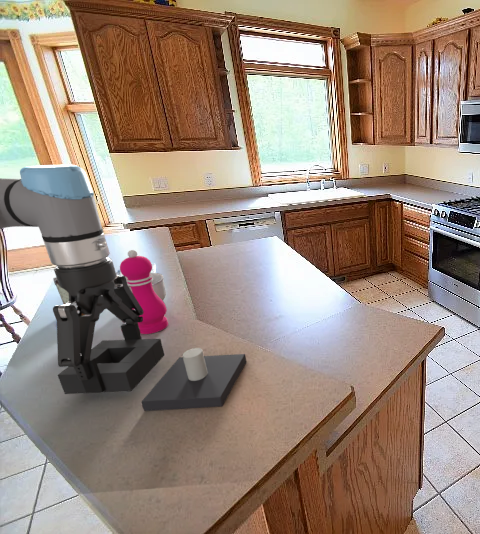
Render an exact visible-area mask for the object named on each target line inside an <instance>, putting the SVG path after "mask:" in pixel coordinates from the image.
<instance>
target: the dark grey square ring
mask: <svg viewBox="0 0 480 534" xmlns="http://www.w3.org/2000/svg"><path fill="white" fill-rule="evenodd" d="M164 357H165V351H164V346H163V343H162V339H161V338H141V339H131V340H125V339H104V340H101V341H100V342H99V343H97V344H96V345H95V346H92V348H91V355H90V358H95V360H96V363H97V366H98V369H99V371H100V375H101V378H102V381H103V383H104V386H105V389H106V390H105V391H104V392H99V393H98V394H100V393H101V394H102V393H120V392H121V393H123V392H132V391H133V390H134V389H135V388H136V387H137V386H138V384H140V383H141V381H143V379H144V378H145V377H146V376H147V375H148V374H149V373H150V372H151V371H152V370H153V368H155V367H156V366H157V364H158V363H159V362H160V361H161V360H162V359H163V358H164ZM57 378H58V381H59V383H60V386H61V388H62V391H63V392H64V395H74V394H75V395H77V394H87V393H86V391H85V389H84V386H83V383H82V381H81V380H79V379H78V377H77V373H76V371H75V369H74V366H70V367H66V368H65V369H63V370H61V372H60V373H58V374H57Z"/></svg>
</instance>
